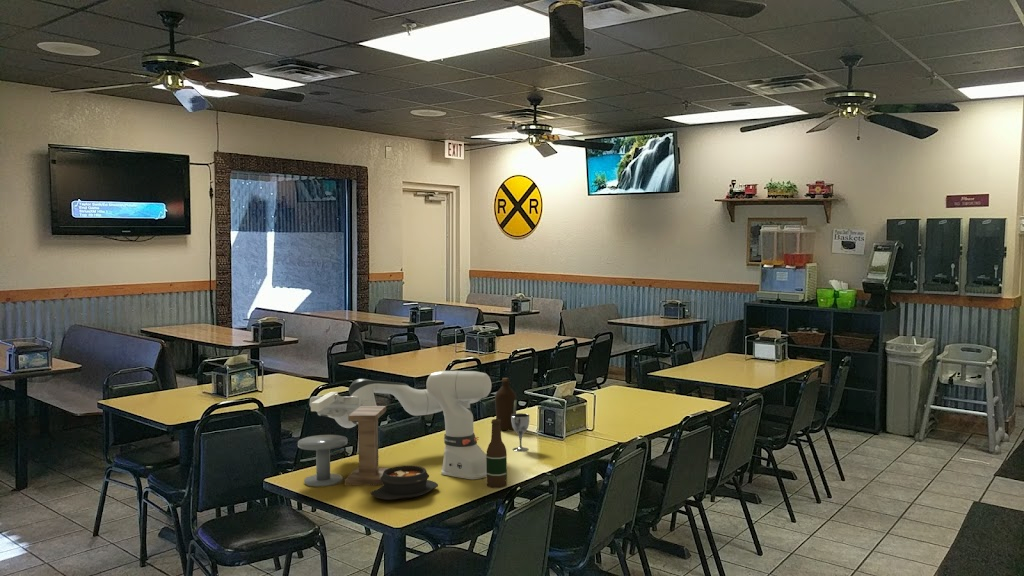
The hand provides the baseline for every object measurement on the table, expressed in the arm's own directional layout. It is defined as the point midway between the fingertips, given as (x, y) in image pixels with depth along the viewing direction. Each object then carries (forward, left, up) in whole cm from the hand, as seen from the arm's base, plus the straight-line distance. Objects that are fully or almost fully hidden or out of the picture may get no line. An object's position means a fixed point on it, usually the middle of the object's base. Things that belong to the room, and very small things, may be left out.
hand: (330, 396), depth 290 cm
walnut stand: (-20, -3, -30) cm, 36 cm away
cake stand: (-9, +10, -30) cm, 32 cm away
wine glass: (-34, -73, -30) cm, 86 cm away
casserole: (-45, 0, -30) cm, 54 cm away
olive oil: (-2, -98, -30) cm, 103 cm away
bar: (-5, +6, -2) cm, 8 cm away
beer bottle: (-62, -29, -30) cm, 75 cm away
